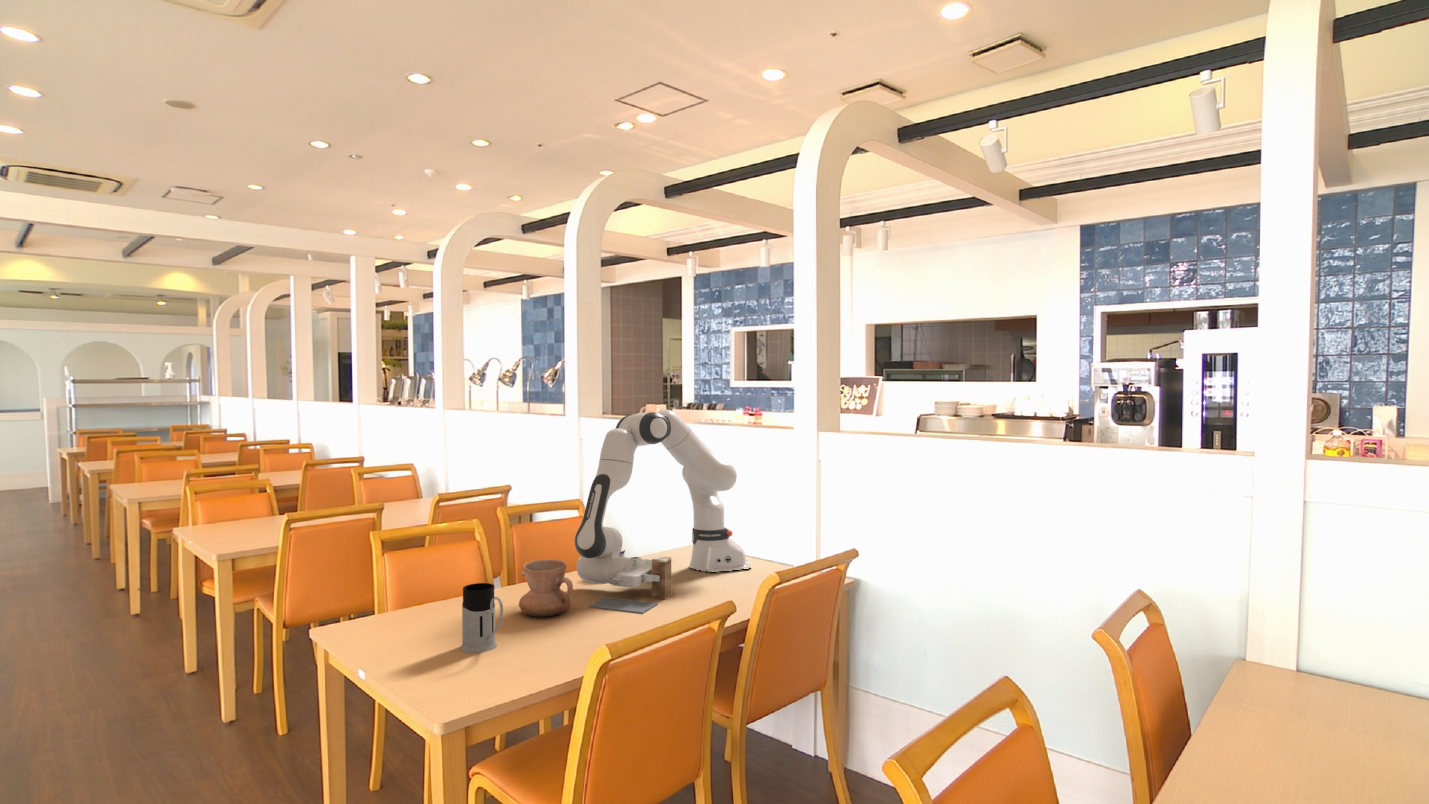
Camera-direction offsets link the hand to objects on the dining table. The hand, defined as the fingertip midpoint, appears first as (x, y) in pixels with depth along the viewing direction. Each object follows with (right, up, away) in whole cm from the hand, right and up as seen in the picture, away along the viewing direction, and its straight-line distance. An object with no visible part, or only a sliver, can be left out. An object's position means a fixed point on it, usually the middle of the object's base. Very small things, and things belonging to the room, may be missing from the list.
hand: (664, 575), depth 233 cm
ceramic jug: (-33, -7, -17) cm, 37 cm away
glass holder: (-41, -8, -46) cm, 62 cm away
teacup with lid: (-19, -6, +28) cm, 34 cm away
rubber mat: (-11, -7, -9) cm, 16 cm away
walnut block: (-1, -6, 0) cm, 7 cm away
